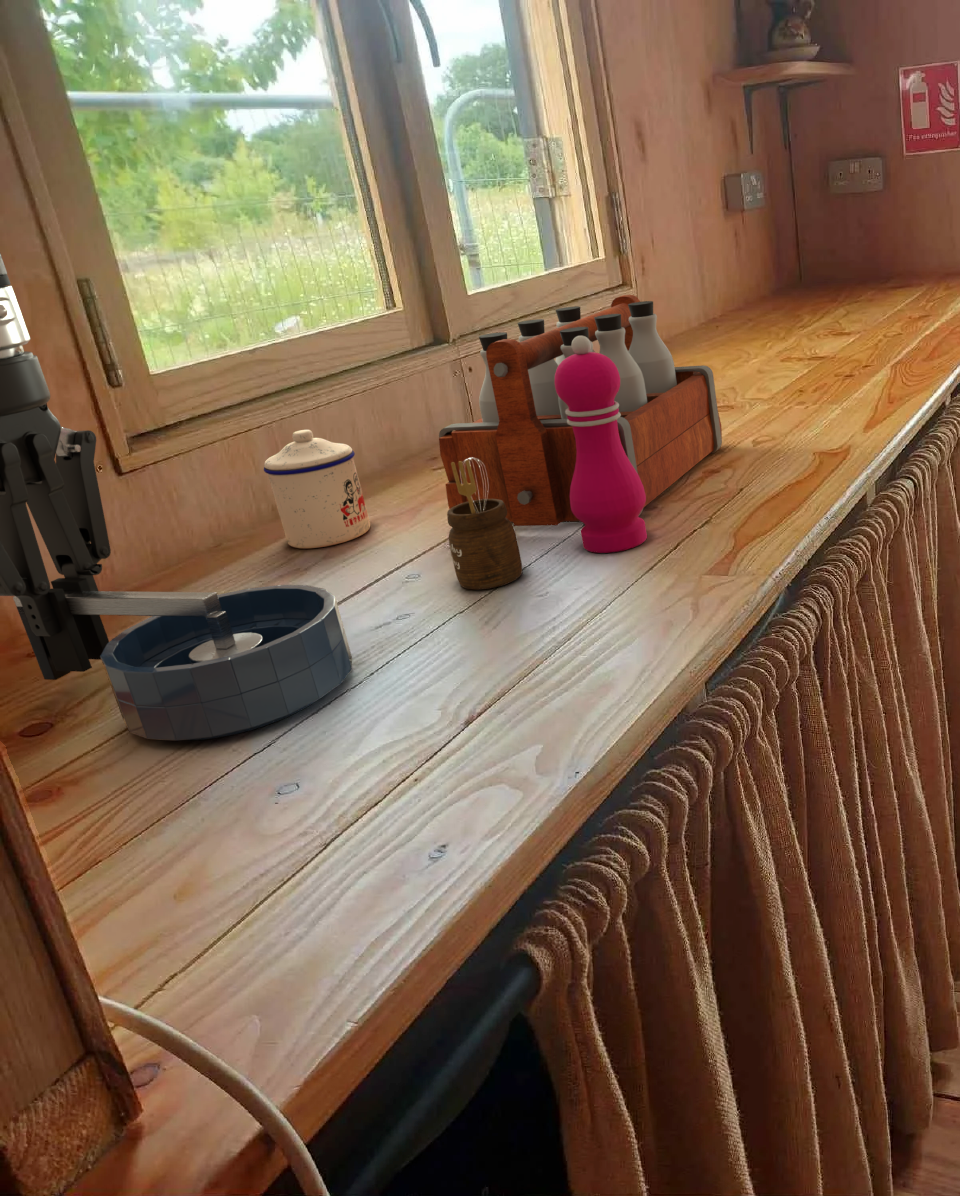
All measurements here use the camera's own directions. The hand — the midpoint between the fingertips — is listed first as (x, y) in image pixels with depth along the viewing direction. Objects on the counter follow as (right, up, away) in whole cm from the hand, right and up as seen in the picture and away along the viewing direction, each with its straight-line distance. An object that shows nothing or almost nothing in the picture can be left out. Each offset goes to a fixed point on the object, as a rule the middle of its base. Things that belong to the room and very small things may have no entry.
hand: (85, 662), depth 87 cm
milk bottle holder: (+32, +18, +44) cm, 57 cm away
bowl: (+14, -2, -3) cm, 14 cm away
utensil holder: (+27, +7, +16) cm, 32 cm away
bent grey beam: (+6, -1, -1) cm, 6 cm away
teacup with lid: (+4, +12, +37) cm, 39 cm away
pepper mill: (+37, +10, +23) cm, 45 cm away
